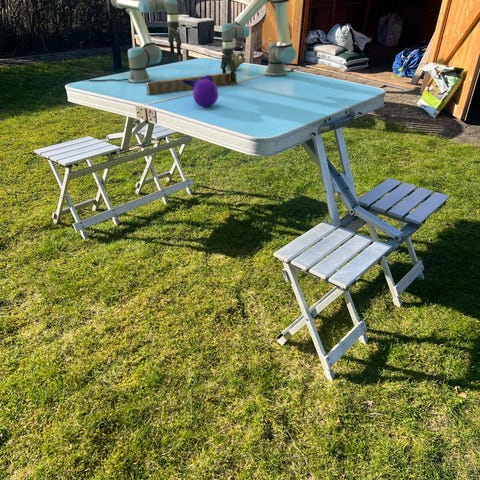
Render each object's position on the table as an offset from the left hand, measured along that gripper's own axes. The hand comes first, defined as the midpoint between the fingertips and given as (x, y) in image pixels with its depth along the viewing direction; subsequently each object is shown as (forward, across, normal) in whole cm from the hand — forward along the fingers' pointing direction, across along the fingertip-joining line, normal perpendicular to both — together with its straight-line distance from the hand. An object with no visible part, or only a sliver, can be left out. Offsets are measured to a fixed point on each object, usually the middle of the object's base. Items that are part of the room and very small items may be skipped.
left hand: (175, 54), depth 320 cm
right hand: (+18, -23, -30) cm, 42 cm away
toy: (+20, -70, +11) cm, 73 cm away
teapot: (+20, +25, -58) cm, 67 cm away
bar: (+20, -24, -2) cm, 31 cm away
